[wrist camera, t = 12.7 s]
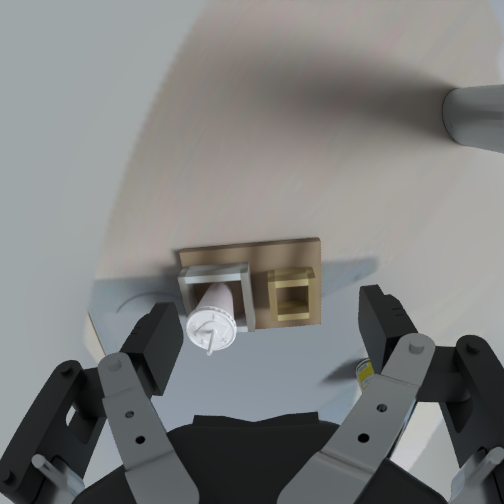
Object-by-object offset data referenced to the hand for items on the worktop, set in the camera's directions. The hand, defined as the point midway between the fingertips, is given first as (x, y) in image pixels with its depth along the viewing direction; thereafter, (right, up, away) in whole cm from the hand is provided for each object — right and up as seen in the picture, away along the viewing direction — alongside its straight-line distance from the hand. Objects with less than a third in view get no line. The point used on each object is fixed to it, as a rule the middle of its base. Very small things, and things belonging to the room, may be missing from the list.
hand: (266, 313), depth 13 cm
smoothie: (-5, -3, +33) cm, 34 cm away
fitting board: (0, -3, +34) cm, 34 cm away
